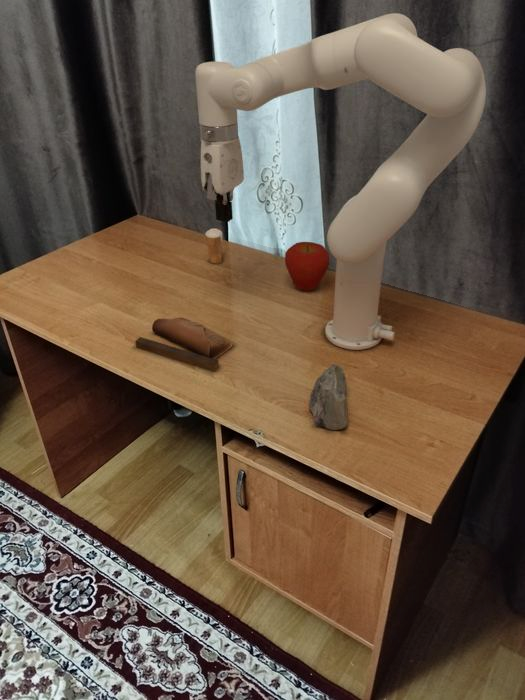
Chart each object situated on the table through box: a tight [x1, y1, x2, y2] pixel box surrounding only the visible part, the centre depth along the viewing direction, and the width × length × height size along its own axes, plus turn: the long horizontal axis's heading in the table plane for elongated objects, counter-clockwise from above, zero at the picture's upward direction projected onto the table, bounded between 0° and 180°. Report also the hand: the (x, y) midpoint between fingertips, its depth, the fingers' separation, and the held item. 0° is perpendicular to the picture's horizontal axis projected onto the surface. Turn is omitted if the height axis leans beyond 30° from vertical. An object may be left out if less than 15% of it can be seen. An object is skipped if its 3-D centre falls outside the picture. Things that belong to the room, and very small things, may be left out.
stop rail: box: [134, 336, 220, 373], centre depth 122 cm, size 20×2×2 cm, turn 63°
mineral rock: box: [308, 364, 349, 431], centre depth 106 cm, size 13×11×10 cm
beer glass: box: [203, 228, 223, 264], centre depth 156 cm, size 4×5×10 cm
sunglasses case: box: [151, 317, 234, 360], centre depth 127 cm, size 18×7×7 cm
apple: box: [284, 241, 330, 291], centre depth 143 cm, size 11×11×12 cm
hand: (224, 219), depth 124 cm, fingers closed
